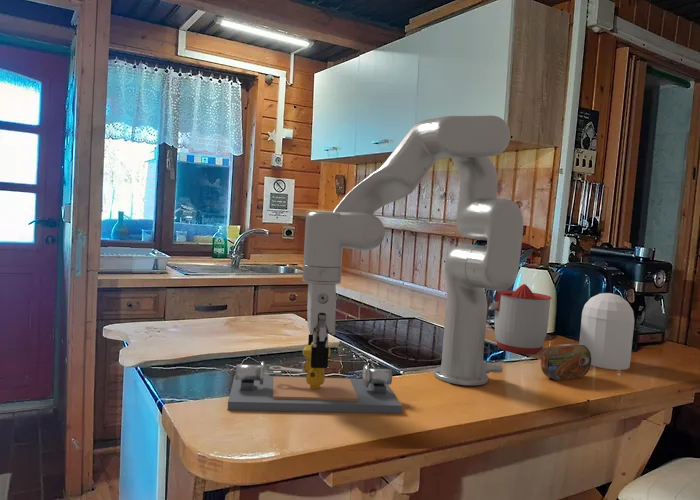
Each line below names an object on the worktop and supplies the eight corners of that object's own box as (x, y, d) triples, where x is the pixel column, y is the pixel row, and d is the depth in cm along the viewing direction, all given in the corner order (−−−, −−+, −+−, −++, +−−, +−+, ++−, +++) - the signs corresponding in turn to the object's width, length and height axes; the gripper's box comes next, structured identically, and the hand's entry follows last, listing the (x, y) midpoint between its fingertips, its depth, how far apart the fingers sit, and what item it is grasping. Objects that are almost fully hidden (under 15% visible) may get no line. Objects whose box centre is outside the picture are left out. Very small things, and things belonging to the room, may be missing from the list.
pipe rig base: (384, 386, 118) (385, 377, 118) (401, 413, 102) (401, 403, 102) (234, 382, 113) (234, 372, 113) (227, 409, 98) (228, 398, 97)
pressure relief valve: (324, 393, 104) (327, 341, 104) (264, 386, 106) (267, 335, 106) (330, 384, 110) (333, 335, 109) (273, 378, 112) (275, 330, 111)
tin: (546, 381, 130) (550, 347, 130) (537, 377, 133) (540, 344, 133) (590, 377, 137) (594, 344, 137) (580, 373, 140) (583, 341, 139)
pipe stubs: (387, 387, 112) (388, 363, 111) (391, 395, 107) (393, 369, 107) (236, 383, 108) (237, 358, 107) (234, 391, 103) (236, 364, 103)
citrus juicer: (482, 341, 170) (488, 278, 168) (540, 347, 167) (546, 283, 166) (488, 353, 154) (494, 284, 153) (551, 360, 152) (558, 289, 151)
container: (629, 373, 144) (636, 298, 142) (574, 363, 150) (582, 292, 149) (629, 362, 156) (637, 293, 154) (579, 354, 162) (586, 287, 161)
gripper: (346, 281, 98) (341, 374, 99) (336, 270, 115) (331, 349, 116) (305, 279, 97) (299, 373, 98) (300, 268, 114) (296, 348, 115)
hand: (317, 360), depth 107 cm, fingers open, 9 cm apart
